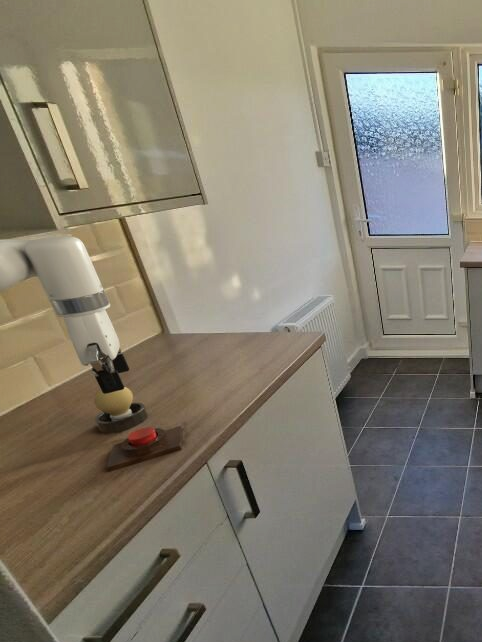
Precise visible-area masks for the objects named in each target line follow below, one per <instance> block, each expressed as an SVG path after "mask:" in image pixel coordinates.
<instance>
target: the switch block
mask: <svg viewBox="0 0 482 642" xmlns="http://www.w3.org/2000/svg"><path fill="white" fill-rule="evenodd" d="M153 428H154V427H153ZM154 430H155V432H156V434H157V437H156V438H155V439H154V440H152V441H150V442H148V443H145V444H142V445H139V446H132V445H131V444H130V442H129V440H128V437H127V438H125V439H124V440H122V442H119V443H114V444H113V445H112V448H111V451H110V455H109V457H108V461H107V464H106V468H105V469H106V470H107V472H108V473H111V472H114V471H117V470H120V469H121V470H122V469H124V468H127V467H130V466H134V465H138V464H140V463H143V462H144V463H145V462H146V461H150V460H153V459H156V458H160V457H163V456H165V455H170V454H172V453H176V452H179V451H183V450H182V449H183V435H184V429H183V426H182V425H179V426H175V427H172V428H169V429H164V428H160V427H157V428H154Z"/></svg>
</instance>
